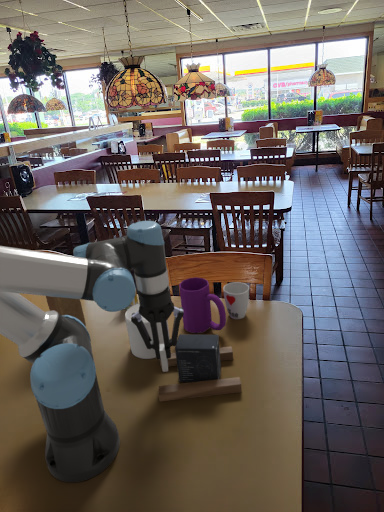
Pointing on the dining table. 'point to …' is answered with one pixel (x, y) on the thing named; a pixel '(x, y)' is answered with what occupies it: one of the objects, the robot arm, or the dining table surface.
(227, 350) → the parallel wooden rails
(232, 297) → the cup
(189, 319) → the mug
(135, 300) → the supplement bottle
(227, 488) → the dining table surface
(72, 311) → the block
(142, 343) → the cup
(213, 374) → the box
